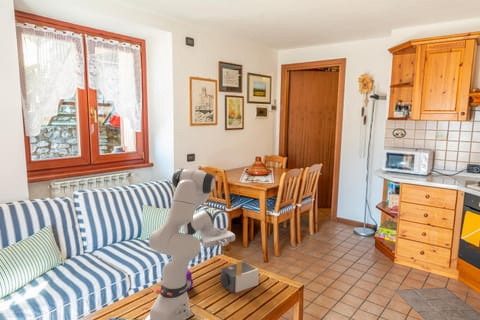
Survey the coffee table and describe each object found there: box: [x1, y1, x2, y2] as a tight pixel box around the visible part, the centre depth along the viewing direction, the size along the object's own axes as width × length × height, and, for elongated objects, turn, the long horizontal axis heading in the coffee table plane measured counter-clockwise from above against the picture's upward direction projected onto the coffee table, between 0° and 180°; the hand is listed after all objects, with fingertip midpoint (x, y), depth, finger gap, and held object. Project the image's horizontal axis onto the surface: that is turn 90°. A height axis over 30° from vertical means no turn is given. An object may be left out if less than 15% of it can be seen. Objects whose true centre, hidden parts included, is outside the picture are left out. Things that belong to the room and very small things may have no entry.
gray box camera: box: [219, 261, 256, 293], centre depth 180 cm, size 11×18×10 cm, turn 125°
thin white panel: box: [234, 260, 260, 294], centre depth 176 cm, size 2×16×17 cm, turn 125°
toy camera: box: [186, 268, 194, 292], centre depth 175 cm, size 11×14×10 cm
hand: (225, 244), depth 182 cm, fingers closed
